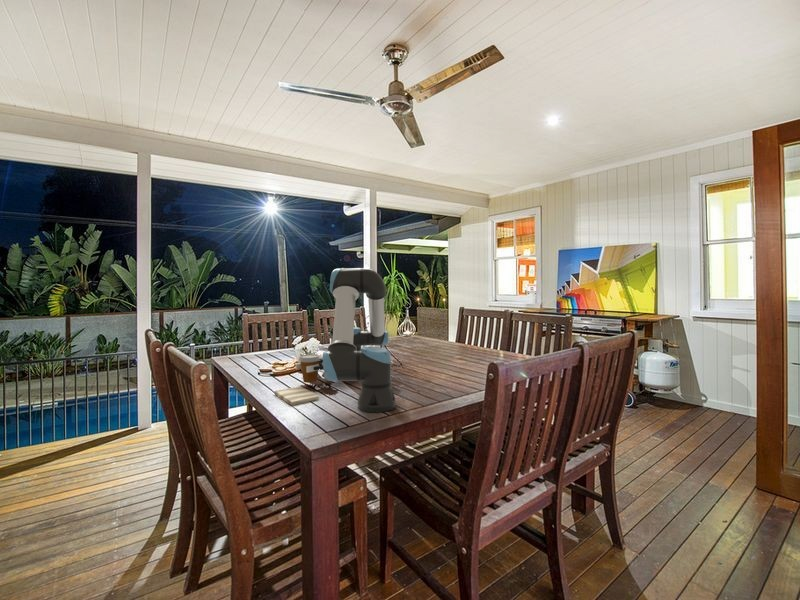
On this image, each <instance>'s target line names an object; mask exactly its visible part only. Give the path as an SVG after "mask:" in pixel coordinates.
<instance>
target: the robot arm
mask: <svg viewBox="0 0 800 600" xmlns="http://www.w3.org/2000/svg"><path fill="white" fill-rule="evenodd" d="M329 280H330V281H329V282H330V283H329V292H330V293H331V294H332V295H333V297H334V299H335V306H334V316H333V318H334V319H333V332H332V340H331V341H332V342H331V343H330V344H328V346H327V350H324V351H323V352H322V357H321V358H320V357H319V358H320V359H319V364H317V365H312V366H307V367H306V372H307V373H308V372H313V371H317V370H318V371H323V372H324V377H325V380H327V381H328V382H350V381H351V382H359V381H361V389H360V391H359V392H360V393H359V395H358V399H357V408H358V409H359V410H360V411H362V412H367V413H384V412H388V411H392V410H393V409H395V408H396V406H397V405H396V397H395V394H394V392H393V388H392V367H391V366H392V360H391V359H392V357H391V352H390V351H389V350H388V349H386V348H383V347H381V346H388V344H389V332H388V331H387V330H386V327H385V324H386V323H385V322H386V320H385V297H386V295H387V287H386V283H385V281H384V279H383V278H382V276H381V275H380V274H379V273H378V272H377V271H375V270H374V269H371V268H367V267H354V268H353V267H348V268H347V267H341V268H334V269H333V270H332V271H331V274H330V279H329ZM360 294H365V296H366V297H367V298H368V313H369V314H368V317H369V330H367V331H363V330H362V329H361V327H355V317H356V315H355V314H356V300H357V299H359V296H360ZM378 346H380V347H378ZM295 370H296V371H297V370H302V369H301V362H298V363H295Z"/></svg>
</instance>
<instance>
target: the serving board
mask: <svg viewBox="0 0 800 600" xmlns="http://www.w3.org/2000/svg"><path fill="white" fill-rule="evenodd" d="M274 395H275V396H276V395H277V397H278V398H280V400H283V401H284V402H285V403H287V404H289V405H290V406H295V405H300V404H305V403H309V401H310V402H313V400H314V401H318V400H317V399H319V400H320V395H318V394H317V393H314V392H312V391H310V390H309V389H306V388H305V387H303V386H302V385H299V386H295V387H288V388H284V389H278V390H274Z"/></svg>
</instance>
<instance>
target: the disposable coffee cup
mask: <svg viewBox="0 0 800 600" xmlns="http://www.w3.org/2000/svg"><path fill="white" fill-rule="evenodd" d="M319 359H320V355H319V354H315V353H313V354H312V353H310V354H309V353H308V354H303V355H300V357H299V363H301V369H300V370H301V374H302V381H303V383H306V384H307V383H309V384H311V383H315V382H317V381H318V374H319V370H317V371H313V372H308V373H307V372H306V367H307V366H312V365H317V364H319Z"/></svg>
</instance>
